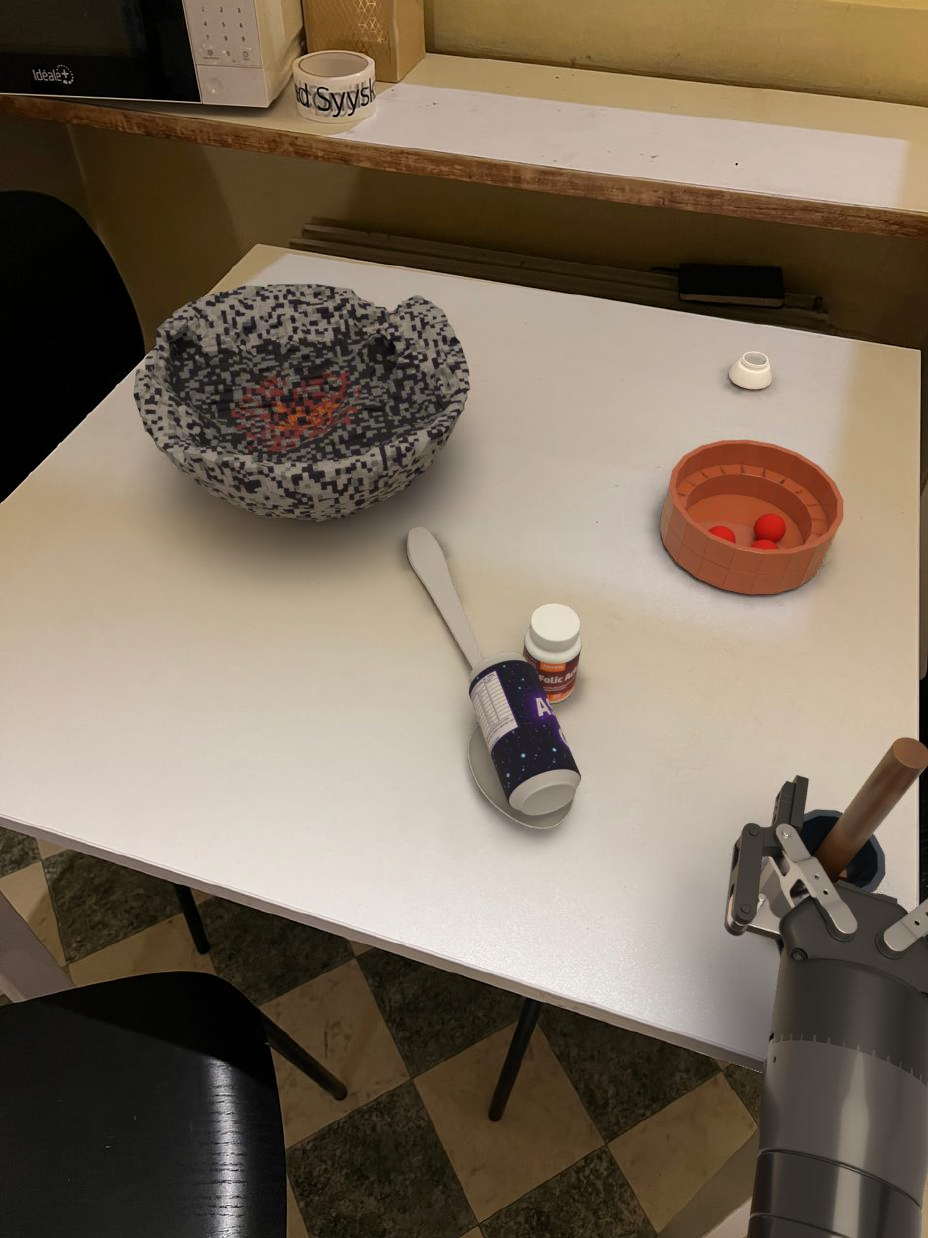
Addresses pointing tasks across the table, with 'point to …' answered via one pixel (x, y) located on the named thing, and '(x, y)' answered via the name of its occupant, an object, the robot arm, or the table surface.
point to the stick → (871, 805)
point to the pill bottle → (554, 648)
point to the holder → (816, 826)
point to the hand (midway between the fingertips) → (869, 804)
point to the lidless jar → (751, 371)
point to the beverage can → (523, 734)
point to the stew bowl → (749, 515)
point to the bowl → (302, 396)
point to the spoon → (439, 585)
